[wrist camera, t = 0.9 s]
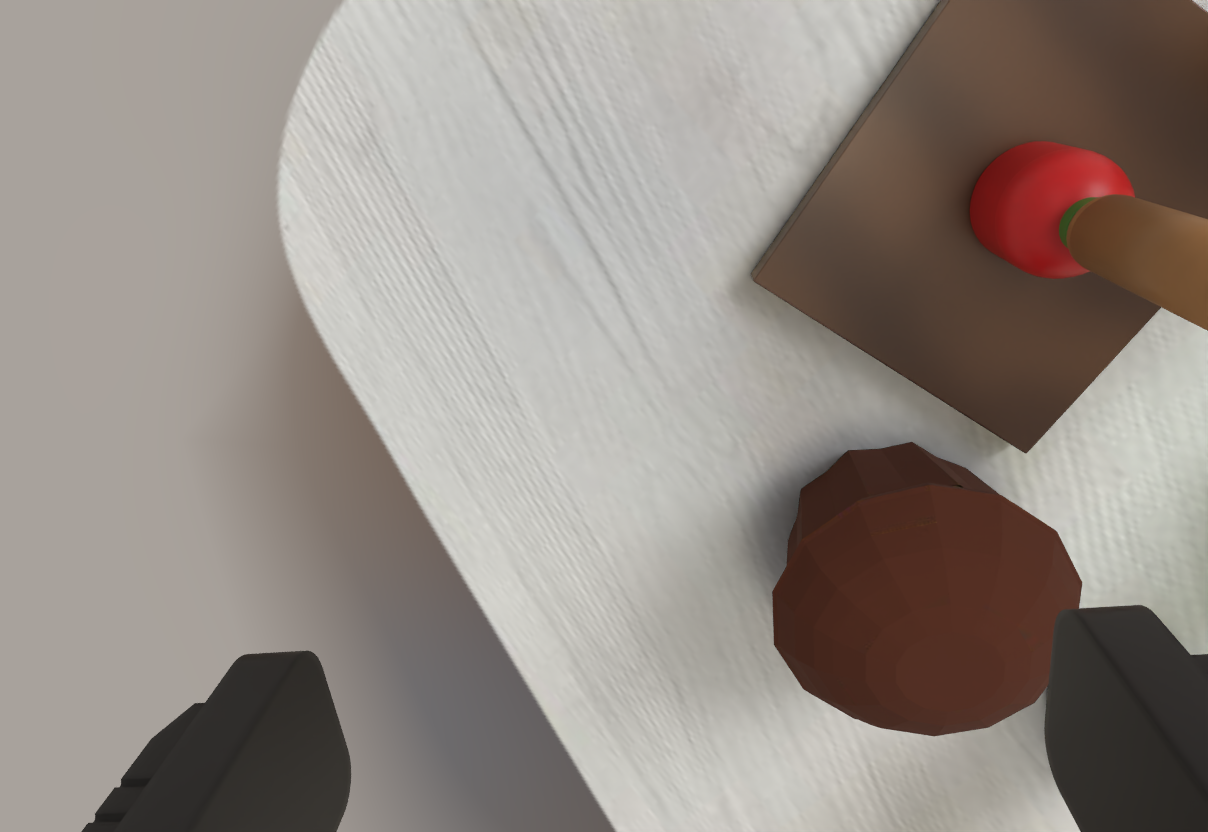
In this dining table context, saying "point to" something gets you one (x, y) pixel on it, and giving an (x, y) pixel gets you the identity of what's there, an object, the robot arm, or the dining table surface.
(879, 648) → the muffin
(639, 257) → the dining table surface
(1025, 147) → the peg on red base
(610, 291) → the dining table surface
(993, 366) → the serving board
